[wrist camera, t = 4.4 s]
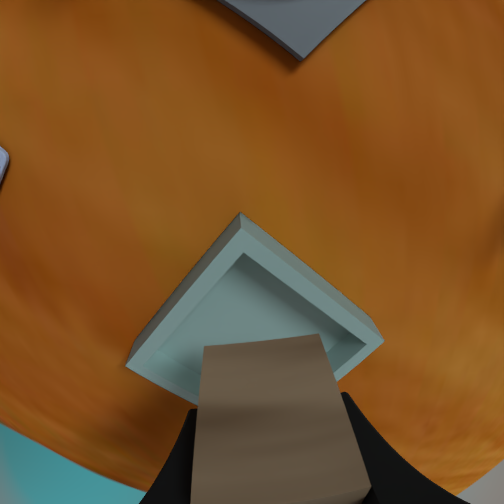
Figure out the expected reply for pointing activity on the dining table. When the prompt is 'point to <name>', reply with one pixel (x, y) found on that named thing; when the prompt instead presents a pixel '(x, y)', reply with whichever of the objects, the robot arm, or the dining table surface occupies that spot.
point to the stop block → (274, 427)
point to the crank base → (294, 20)
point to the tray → (247, 311)
